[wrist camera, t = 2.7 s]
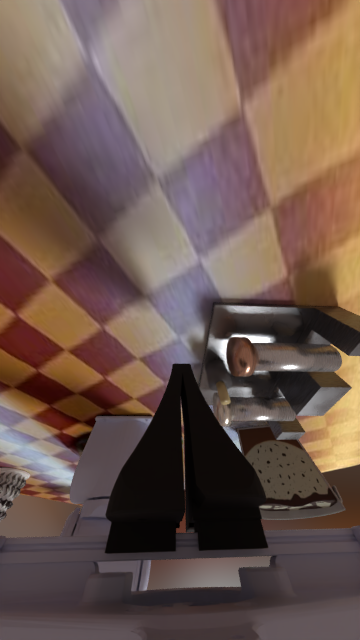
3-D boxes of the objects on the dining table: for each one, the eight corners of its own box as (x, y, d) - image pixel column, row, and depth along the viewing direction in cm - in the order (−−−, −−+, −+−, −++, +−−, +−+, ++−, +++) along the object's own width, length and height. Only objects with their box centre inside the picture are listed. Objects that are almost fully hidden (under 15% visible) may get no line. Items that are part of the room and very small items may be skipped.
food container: (228, 442, 31) (248, 522, 22) (229, 429, 28) (252, 515, 19) (288, 436, 30) (332, 517, 22) (295, 422, 27) (350, 509, 19)
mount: (196, 401, 23) (200, 439, 19) (213, 302, 14) (229, 331, 10) (275, 401, 23) (298, 439, 19) (338, 306, 15) (405, 336, 11)
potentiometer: (203, 374, 19) (210, 409, 15) (206, 359, 17) (214, 393, 14) (223, 374, 19) (235, 409, 15) (227, 359, 18) (241, 394, 14)
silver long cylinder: (211, 402, 21) (217, 431, 18) (215, 386, 19) (223, 416, 16) (273, 402, 21) (290, 431, 18) (284, 387, 19) (304, 416, 16)
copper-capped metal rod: (223, 356, 16) (235, 384, 13) (231, 329, 14) (246, 355, 11) (303, 357, 17) (332, 385, 13) (320, 331, 15) (358, 357, 12)
